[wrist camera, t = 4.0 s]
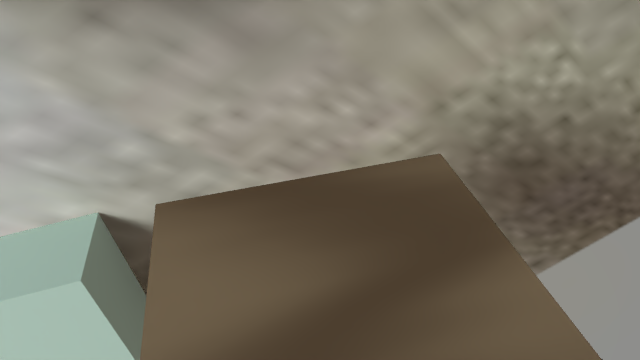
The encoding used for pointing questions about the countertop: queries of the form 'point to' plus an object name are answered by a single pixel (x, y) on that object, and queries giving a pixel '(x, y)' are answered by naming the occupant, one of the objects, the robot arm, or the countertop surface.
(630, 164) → the countertop surface
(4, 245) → the sage block
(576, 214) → the countertop surface
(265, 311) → the walnut cube
